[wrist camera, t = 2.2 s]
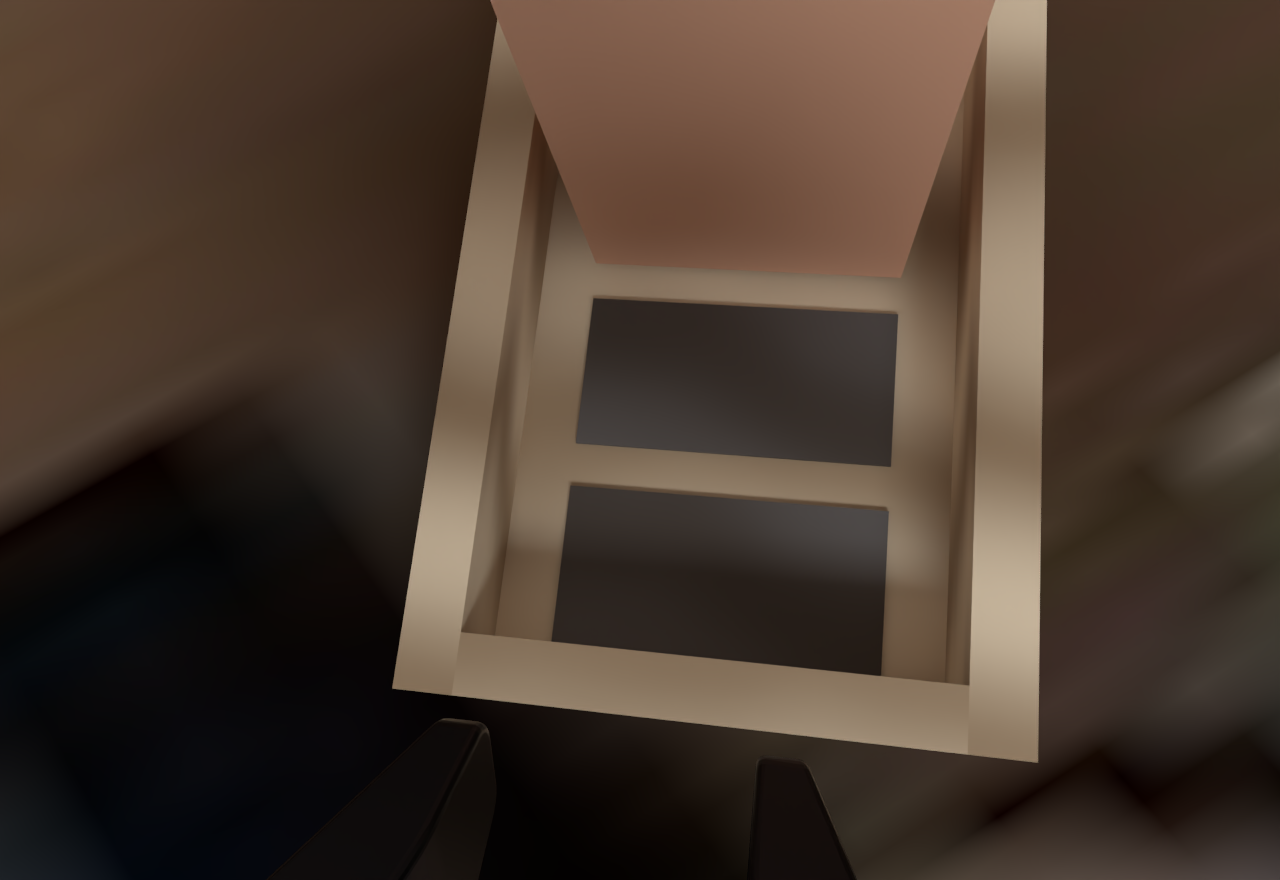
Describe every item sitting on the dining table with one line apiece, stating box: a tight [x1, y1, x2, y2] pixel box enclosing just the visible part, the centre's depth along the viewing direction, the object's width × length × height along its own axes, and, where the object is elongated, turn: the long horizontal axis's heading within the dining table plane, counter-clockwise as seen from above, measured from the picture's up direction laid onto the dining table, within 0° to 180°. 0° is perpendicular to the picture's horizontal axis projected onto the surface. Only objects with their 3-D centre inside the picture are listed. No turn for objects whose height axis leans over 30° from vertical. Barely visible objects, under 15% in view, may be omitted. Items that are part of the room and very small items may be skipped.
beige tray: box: [392, 0, 1047, 763], centre depth 23 cm, size 24×12×4 cm, turn 174°
